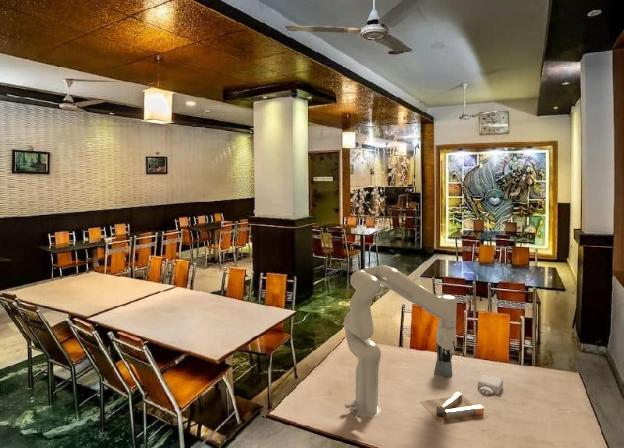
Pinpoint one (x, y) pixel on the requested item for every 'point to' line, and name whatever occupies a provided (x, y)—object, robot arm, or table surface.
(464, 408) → the bar
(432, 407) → the board
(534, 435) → the table surface
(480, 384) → the charger
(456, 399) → the tong leg
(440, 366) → the moka pot
